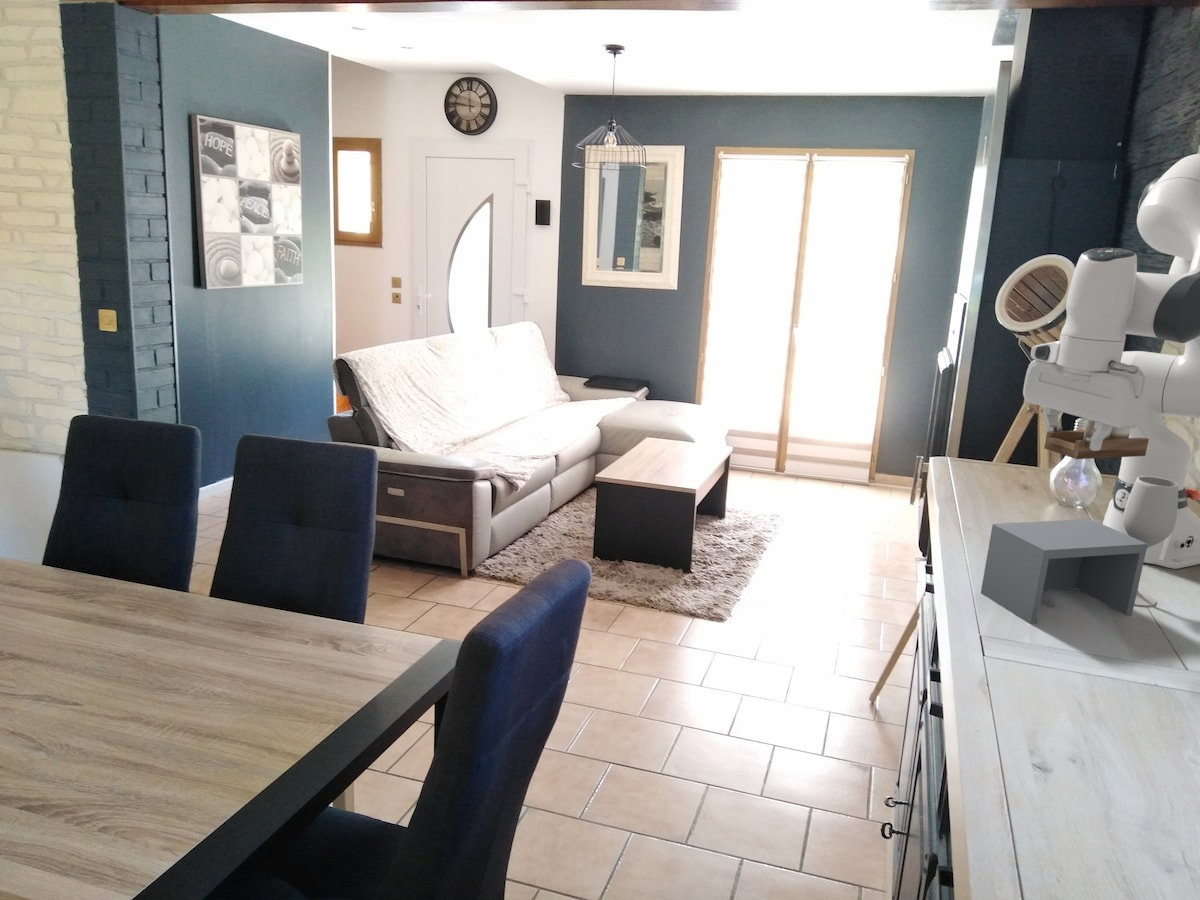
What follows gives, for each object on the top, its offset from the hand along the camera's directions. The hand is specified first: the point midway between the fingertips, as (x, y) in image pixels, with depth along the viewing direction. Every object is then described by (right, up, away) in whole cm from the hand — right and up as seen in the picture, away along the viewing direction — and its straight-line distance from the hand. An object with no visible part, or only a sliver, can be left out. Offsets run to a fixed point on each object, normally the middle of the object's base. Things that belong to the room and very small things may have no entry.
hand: (1071, 442), depth 142 cm
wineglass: (+17, -27, +13) cm, 35 cm away
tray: (+5, -1, +2) cm, 5 cm away
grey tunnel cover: (+2, -27, +9) cm, 28 cm away
